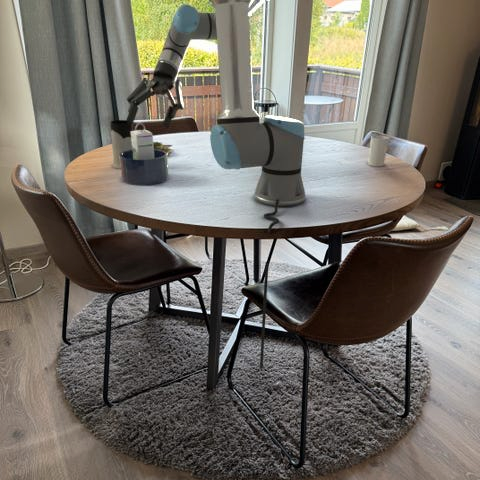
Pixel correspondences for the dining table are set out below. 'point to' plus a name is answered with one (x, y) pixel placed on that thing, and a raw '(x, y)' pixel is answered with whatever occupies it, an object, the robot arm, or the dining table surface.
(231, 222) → the dining table surface
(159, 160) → the pot
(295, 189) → the robot arm
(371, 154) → the cream cylindrical container
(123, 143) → the white black mug
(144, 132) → the syrup box
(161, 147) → the salad plate
